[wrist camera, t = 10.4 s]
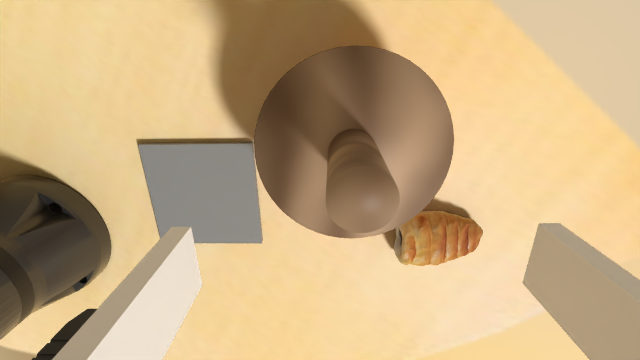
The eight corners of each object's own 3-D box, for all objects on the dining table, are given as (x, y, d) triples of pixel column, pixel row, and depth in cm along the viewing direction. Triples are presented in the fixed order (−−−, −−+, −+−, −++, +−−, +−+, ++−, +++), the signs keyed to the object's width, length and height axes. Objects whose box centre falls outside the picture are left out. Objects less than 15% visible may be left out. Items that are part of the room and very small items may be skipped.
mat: (164, 240, 38) (161, 242, 37) (141, 143, 33) (138, 144, 33) (262, 240, 37) (261, 243, 36) (252, 142, 33) (251, 143, 32)
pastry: (478, 202, 34) (495, 219, 31) (472, 253, 37) (487, 274, 33) (392, 207, 35) (399, 225, 32) (392, 257, 38) (399, 278, 34)
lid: (265, 231, 30) (234, 313, 20) (248, 48, 24) (192, 42, 14) (436, 231, 29) (487, 316, 19) (462, 44, 23) (552, 34, 14)
